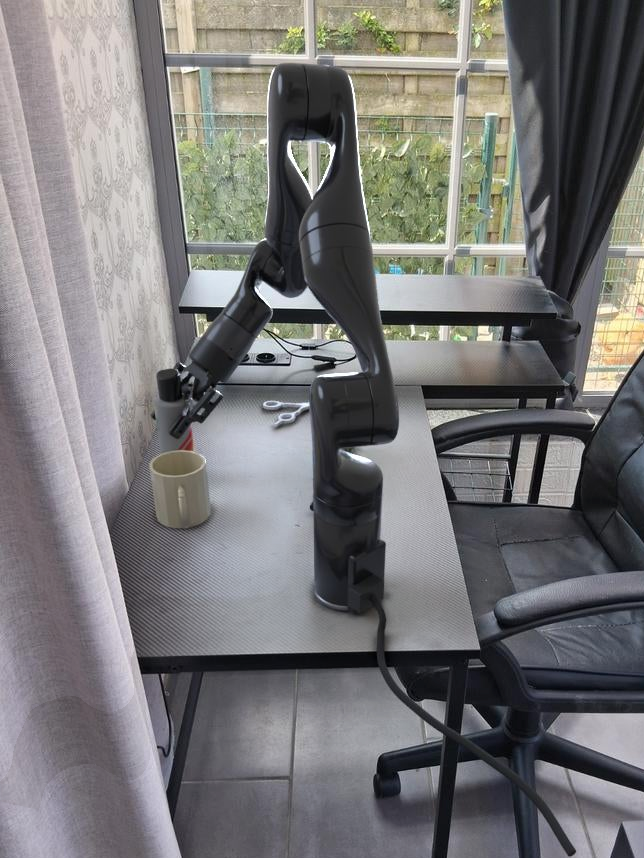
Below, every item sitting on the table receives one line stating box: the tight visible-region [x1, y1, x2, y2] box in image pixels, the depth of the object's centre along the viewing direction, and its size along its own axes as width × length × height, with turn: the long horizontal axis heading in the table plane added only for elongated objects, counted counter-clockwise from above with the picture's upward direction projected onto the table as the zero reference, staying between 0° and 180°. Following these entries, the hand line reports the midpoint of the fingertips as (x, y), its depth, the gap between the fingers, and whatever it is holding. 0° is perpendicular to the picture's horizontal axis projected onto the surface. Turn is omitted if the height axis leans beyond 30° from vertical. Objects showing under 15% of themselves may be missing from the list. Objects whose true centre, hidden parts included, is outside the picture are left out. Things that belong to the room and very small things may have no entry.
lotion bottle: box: [153, 368, 195, 455], centre depth 134 cm, size 6×6×20 cm
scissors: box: [262, 400, 309, 428], centre depth 165 cm, size 11×1×20 cm
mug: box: [148, 450, 211, 529], centre depth 126 cm, size 12×9×10 cm
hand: (164, 427), depth 133 cm, fingers open, 6 cm apart
